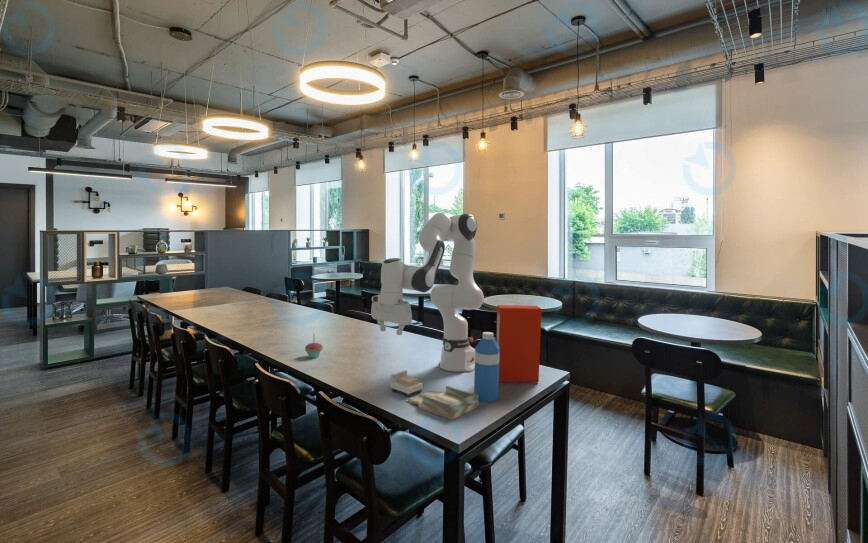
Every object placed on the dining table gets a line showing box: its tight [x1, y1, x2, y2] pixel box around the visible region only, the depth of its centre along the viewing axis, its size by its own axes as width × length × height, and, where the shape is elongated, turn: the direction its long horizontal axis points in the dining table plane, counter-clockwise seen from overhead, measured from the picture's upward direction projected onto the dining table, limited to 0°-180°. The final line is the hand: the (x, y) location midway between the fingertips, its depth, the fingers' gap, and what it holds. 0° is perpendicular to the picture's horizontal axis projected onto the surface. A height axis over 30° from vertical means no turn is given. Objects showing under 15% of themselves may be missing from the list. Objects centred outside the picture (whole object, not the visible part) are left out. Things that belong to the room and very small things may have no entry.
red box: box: [495, 304, 543, 382], centre depth 177 cm, size 8×17×32 cm, turn 91°
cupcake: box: [304, 333, 324, 359], centre depth 207 cm, size 9×8×12 cm
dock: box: [407, 385, 480, 421], centre depth 151 cm, size 16×23×5 cm
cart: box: [390, 370, 424, 397], centre depth 162 cm, size 8×10×6 cm
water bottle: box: [473, 331, 500, 403], centre depth 157 cm, size 9×9×25 cm
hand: (390, 332), depth 166 cm, fingers open, 8 cm apart
